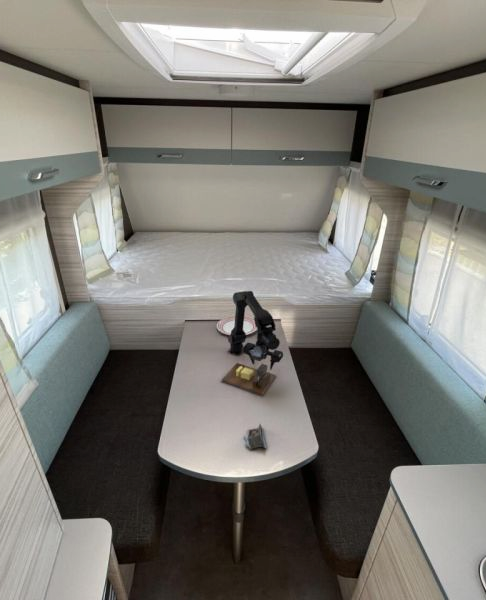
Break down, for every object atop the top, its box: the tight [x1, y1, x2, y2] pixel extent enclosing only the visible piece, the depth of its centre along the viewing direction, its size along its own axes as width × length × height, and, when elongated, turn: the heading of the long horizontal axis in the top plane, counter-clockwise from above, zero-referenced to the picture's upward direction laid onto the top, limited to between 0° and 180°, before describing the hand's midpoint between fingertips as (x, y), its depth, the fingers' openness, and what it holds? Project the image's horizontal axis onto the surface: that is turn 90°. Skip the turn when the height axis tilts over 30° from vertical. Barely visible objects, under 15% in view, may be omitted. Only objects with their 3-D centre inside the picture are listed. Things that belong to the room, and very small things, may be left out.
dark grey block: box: [256, 363, 268, 383], centre depth 159 cm, size 3×8×8 cm, turn 152°
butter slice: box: [236, 366, 243, 377], centre depth 165 cm, size 2×4×3 cm, turn 152°
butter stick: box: [241, 368, 254, 380], centre depth 163 cm, size 5×4×3 cm
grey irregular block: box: [244, 423, 267, 450], centre depth 127 cm, size 10×7×12 cm
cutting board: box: [221, 362, 276, 396], centre depth 163 cm, size 22×16×4 cm
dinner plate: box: [216, 315, 257, 336], centre depth 212 cm, size 27×27×3 cm
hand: (262, 366), depth 157 cm, fingers open, 9 cm apart
